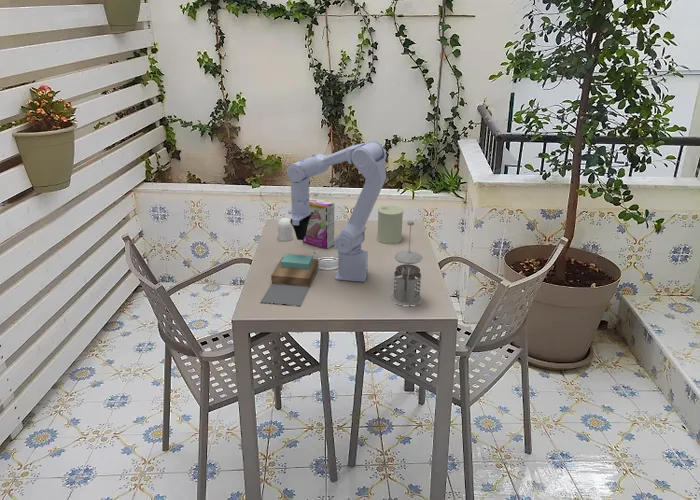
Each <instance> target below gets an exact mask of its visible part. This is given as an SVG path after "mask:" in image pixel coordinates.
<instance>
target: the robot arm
mask: <svg viewBox="0 0 700 500" xmlns="http://www.w3.org/2000/svg"><path fill="white" fill-rule="evenodd" d="M386 159H387V152H386V150H385V148H384V146H382V143H381V142H379V141H377V140H371V141H368V142H367V143H366V142H363V143H358V144H355V145H350V146H348V147H345V148H344V149H343V148H342V149H341V150H338V151H336V152H334V153H331V154H329V155H324V154H322V153H317V152H316V153H313V154H311V156H310V157H308V158H305V157H302V158H300V159H299V160H298V161H296V162H294V163H291V164H290V165H288V167H287V169H286V175H287V178H288V179H289V180H290V196H291V197H290V198H291V199H290V200H291V201H290V202H291V209H289V210H288V212H287V214H288V215H291V218H290V223H291V225H292V229H293V230H294V233H295V237H296V240H297V241H298V240H299V241H303V240H304V237H305V236H306V233H307V227H308V223H309V220H310V218H311V214H310V208H309V197H310V178H311V177H315V176H318V175H321V174H323V173H326V172H327V171H328V170H329V167H330V166H335V165H337V164H340V163H343V162H348V164H350V165H354V167H355V168H356V170H358V171H359V173H360V174H361V175H362V176H363V177H364V179H365V182H364V183H363V187H362V189H361V191H360V193H359V196H358V198H357V201H356V203H355V206H354V208H353V210H352V212H351V214H350V217H349V219H348V221H347V223H346V225H345V226H344V227H343V228H342V230H341V232H340V234H338V235H336V237H334V245H333V246H334V248H335V249H336V251H337V254H338V255H337V257H338V261H337V262H338V263H337V264H338V265H337V266H338V267H337V269H338V270H337V273H336V276H335V277H334V278H335V280H336V281H337V280H338V281H351V282H361V283H363V282H366V279H367V276H368V273H369V265H368V263H369V262H368V261H369V251H368V250H365V249H362V244H363V243H364V242H365V239H366V234H365V233H366V231H367V227H366V224H367V222H368V220H369V217H370V215H371V213H372V211H373V209H374V207H375V204H376V202H377V200H378V198H379V195H380V193H381V191H382V189H383V186H384V184H385V182H386V179H387V171H386Z"/></svg>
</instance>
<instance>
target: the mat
mask: <svg viewBox="0 0 700 500" xmlns="http://www.w3.org/2000/svg"><path fill="white" fill-rule="evenodd" d="M309 289H310V287H309V286H299V285H287V284H275V283H272V282H271V284H270V285H269V287H268V288H267V290H266V292H265V294H264V295H263V297H262V298H261V300H260V302H262V303H261V304H267V303H274V304H273V305H278V304H286V305H285V306H290V305H296V306H295V307H301V305H302V303H303V302H304V299H305V298H306V295H307V293H308V291H309Z"/></svg>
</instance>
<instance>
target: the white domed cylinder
mask: <svg viewBox="0 0 700 500" xmlns="http://www.w3.org/2000/svg"><path fill="white" fill-rule="evenodd" d="M290 220H291V218H288V217H282V218H280V219H279V220H278V222H277V235H278V236H277V237H278V241H282V242H289V241H292V240H293V239H294V235H293V226H292V225H291V223H290Z"/></svg>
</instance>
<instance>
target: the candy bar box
mask: <svg viewBox="0 0 700 500" xmlns="http://www.w3.org/2000/svg"><path fill="white" fill-rule="evenodd" d="M309 208H310V214H311V218H310V220H309V223H308V227H307V233H306V236H305V237H304V240H302V243H305V244H309V245H312V246H314V247H315V246H316V247H319V248H322V249H330V248H331V247H333V246H335V245H334V241H335V203H334V202H332V201H327V200H322V199H320V198H315V197H310V196H309Z"/></svg>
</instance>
